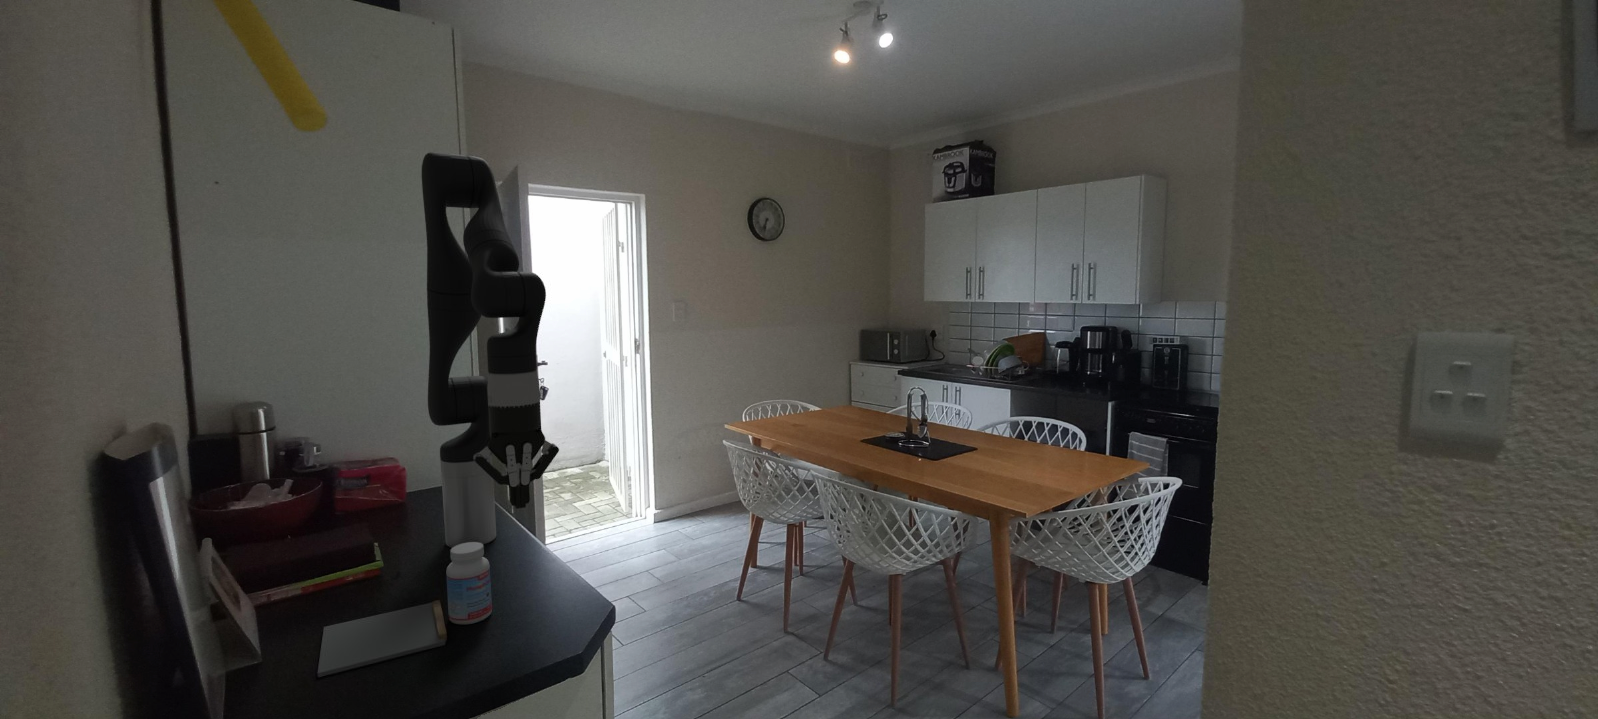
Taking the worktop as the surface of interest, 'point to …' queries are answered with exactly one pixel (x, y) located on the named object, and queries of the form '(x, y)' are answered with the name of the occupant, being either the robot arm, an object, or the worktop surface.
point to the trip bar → (439, 620)
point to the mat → (378, 639)
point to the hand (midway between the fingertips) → (519, 506)
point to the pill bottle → (468, 584)
